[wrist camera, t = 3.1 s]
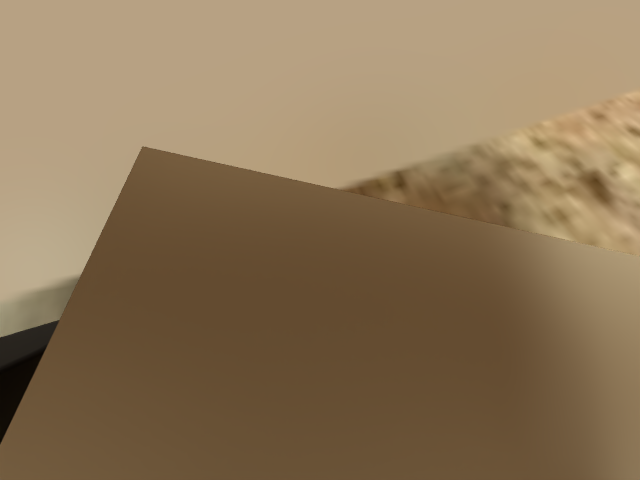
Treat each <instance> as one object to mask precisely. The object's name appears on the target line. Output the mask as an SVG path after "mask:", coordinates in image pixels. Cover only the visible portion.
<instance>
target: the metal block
mask: <svg viewBox="0 0 640 480" xmlns="http://www.w3.org/2000/svg"><path fill="white" fill-rule="evenodd" d="M0 480H640V256H637V255H633V254H628V253H624V252H619V251H615V250H610V249H605V248H601V247H596V246H592V245H587V244H583V243H578V242H574V241H569V240H565V239H560V238H556V237H551V236H547V235H542V234H537V233H533V232H528V231H524V230H519V229H515V228H510V227H506V226H501V225H497V224H492V223H488V222H483V221H478V220H474V219H469V218H465V217H460V216H456V215H451V214H447V213H442V212H438V211H433V210H429V209H424V208H420V207H415V206H410V205H406V204H401V203H397V202H392V201H388V200H383V199H379V198H374V197H370V196H365V195H361V194H356V193H351V192H347V191H342V190H338V189H333V188H329V187H324V186H320V185H315V184H311V183H306V182H301V181H297V180H292V179H288V178H283V177H279V176H274V175H270V174H265V173H261V172H256V171H252V170H247V169H243V168H238V167H233V166H229V165H224V164H220V163H215V162H211V161H206V160H202V159H197V158H192V157H188V156H183V155H179V154H175V153H170V152H165V151H161V150H156V149H151V148H147V147H142V149H141V151H140V153H139V155H138V157H137V159H136V161H135V163H134V166H133V168H132V170H131V172H130V174H129V176H128V178H127V180H126V182H125V184H124V186H123V189H122V191H121V193H120V195H119V197H118V199H117V201H116V203H115V206H114V207H113V210H112V212H111V214H110V216H109V218H108V220H107V222H106V224H105V226H104V229H103V230H102V233H101V235H100V237H99V239H98V241H97V243H96V245H95V248H94V249H93V251H92V254H91V256H90V258H89V260H88V262H87V264H86V266H85V268H84V270H83V272H82V274H81V277H80V279H79V281H78V283H77V285H76V287H75V289H74V291H73V293H72V295H71V297H70V300H69V302H68V304H67V306H66V308H65V310H64V312H63V314H62V316H61V318H60V321H59V323H58V325H57V327H56V329H55V331H54V333H53V335H52V337H51V339H50V341H49V344H48V346H47V348H46V350H45V352H44V354H43V356H42V358H41V360H40V362H39V365H38V367H37V369H36V371H35V373H34V375H33V377H32V379H31V381H30V383H29V385H28V388H27V390H26V392H25V394H24V396H23V398H22V400H21V402H20V404H19V406H18V409H17V411H16V413H15V415H14V417H13V419H12V421H11V423H10V425H9V427H8V429H7V432H6V434H5V436H4V438H3V440H2V442H1V444H0Z"/></svg>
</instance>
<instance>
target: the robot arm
mask: <svg viewBox="0 0 640 480" xmlns="http://www.w3.org/2000/svg"><path fill="white" fill-rule="evenodd" d="M59 321H60V320H58V321H55V322H51V323H48V324H44V325H41V326H38V327H34V328H31V329H28V330H24V331H21V332H17V333H14V334H11V335H7V336H4V337H0V444H1V442H2V440H3V438H4V436H5V434H6V432H7V429H8V427H9V425H10V423H11V421H12V419H13V417H14V415H15V413H16V411H17V409H18V406H19V404H20V402H21V400H22V398H23V396H24V394H25V392H26V390H27V388H28V385H29V383H30V381H31V379H32V377H33V375H34V373H35V371H36V369H37V367H38V365H39V362H40V360H41V358H42V356H43V354H44V352H45V350H46V348H47V346H48V344H49V341H50V339H51V337H52V335H53V333H54V331H55V329H56V327H57V325H58V323H59Z"/></svg>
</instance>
